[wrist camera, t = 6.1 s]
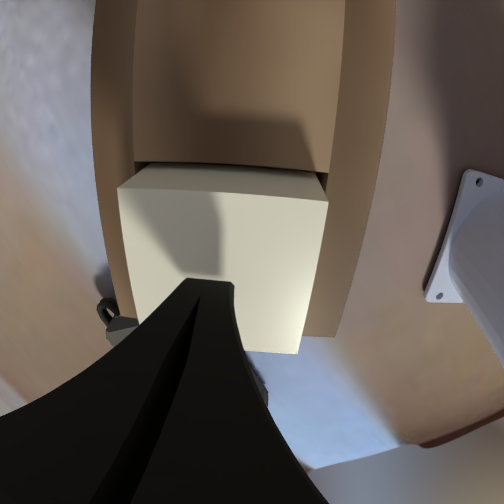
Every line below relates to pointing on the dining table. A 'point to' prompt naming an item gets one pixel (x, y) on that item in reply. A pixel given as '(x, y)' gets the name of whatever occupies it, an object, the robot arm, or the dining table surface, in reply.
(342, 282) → the key base
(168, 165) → the cream key
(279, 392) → the dining table surface
